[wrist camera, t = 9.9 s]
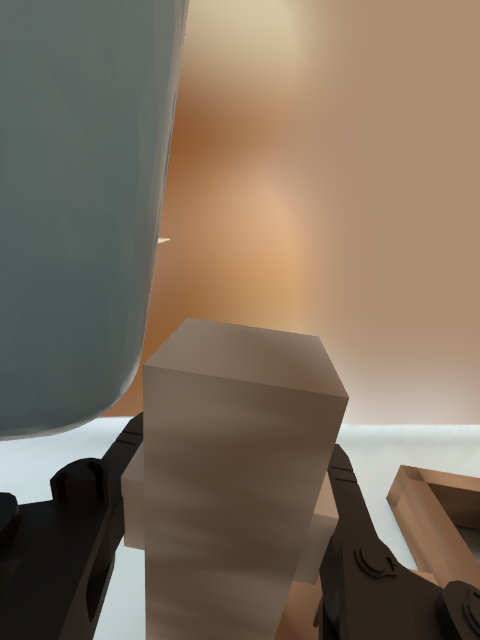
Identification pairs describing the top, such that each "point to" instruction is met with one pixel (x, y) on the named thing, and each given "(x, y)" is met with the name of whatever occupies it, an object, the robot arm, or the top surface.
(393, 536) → the top surface
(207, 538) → the wooden handled frame
